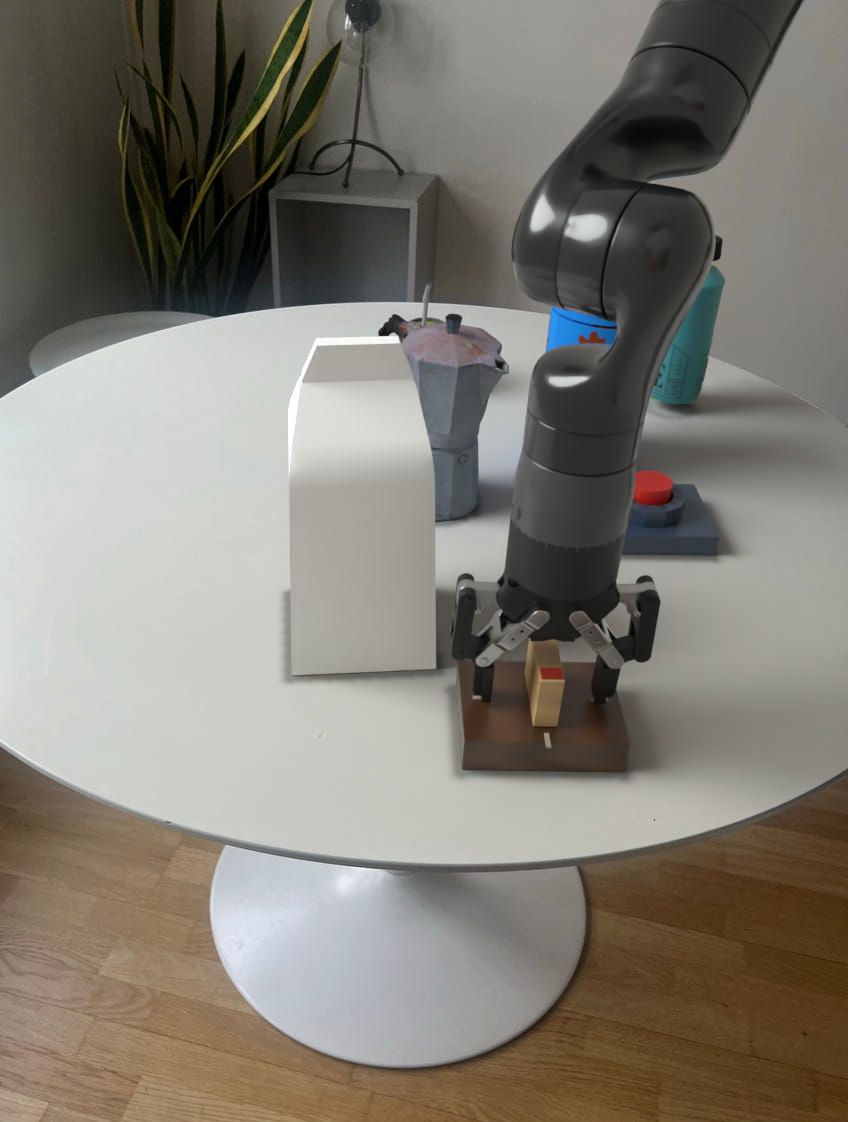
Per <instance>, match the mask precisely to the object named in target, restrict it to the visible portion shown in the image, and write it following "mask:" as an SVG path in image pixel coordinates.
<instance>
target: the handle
mask: <svg viewBox="0 0 848 1122" xmlns="http://www.w3.org/2000/svg"><path fill="white" fill-rule="evenodd" d="M527 645H528V646H527V652H526V659H525V661H526V666H525V679H526V685H527V691H528V698H529V704H530V710H531V717H532V723H533V726H541V727H557V725H558V719H559V714H560V708H561V702H562V697H563V691H564V685H565V678H564V674H563V669H562V664H561V662H562V660H561V659H562V658H561V655H560V649H559V645H558V640H554V639H552V640H547V641H530V638H528V644H527Z"/></svg>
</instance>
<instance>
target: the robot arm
mask: <svg viewBox="0 0 848 1122" xmlns="http://www.w3.org/2000/svg"><path fill="white" fill-rule="evenodd" d="M805 1H806V0H658V2H657V4H656V6H655V8H654V10H653V11H652V14H651V16H650V18H649V20H648V22H647V23H646V26H645V28H644V30H643V32H642V34H641V37H640V38H639V41H638V43H637V44H636V46H635V49H634V51H633V52H632V55H631V57H630V59H629V61H628V63H627V66H626V68H625V70H624V72H623V74H622V76H621V78H620V80H619V82H618V84H617V85H616V87H615V88H614V89H613V90H612V92H610V94H609V96H608V97H606V99H605V100H604V101H603V102H602V103H601V105H599V107H598V108H597V109H596V110H595V111H594V112H593V114H592V115H591V116H590V118H589V119H588V120H587V121H586V122H585V123H584V125H583V126H582V127H581V128H580V129H579V131H578V132H577V133H576V135H575V136H573V138H572V139H571V140H570V141H569V142H568V143H567V145H566V146H565V147H564V148H563V149H562V150H561V152H560V153H559V154H558V155H557V156H556V157H555V159H553V161H552V162H551V164H549V166H548V167H547V168H546V170H545V171H544V172H543V174H542V175H541V176H540V177H539V179H538V180H537V181H536V183H535V184H534V185H533V187H532V189H531V191H530V193H529V194H528V196H527V197H526V199H525V201H524V203H523V205H522V208H521V209H520V212H519V215H518V216H517V217H518V218H517V221H516V223H515V226H514V230H513V235H512V241H511V251H510V252H511V267H512V272H513V275H514V279H515V281H516V283H517V286H518V287H519V288H520V290H521V292H522V293H524V294H525V296H526V297H527V298H529V299H531V300H532V301H535V302H536V303H539V304H541V305H544V306H548V307H550V308H551V307H555V308H559V309H563V310H567V311H571V312H575V313H579V314H583V315H587V316H591V317H595V318H599V319H603V320H607V321H612V322H614V323H617V332H616V337H615V340H614V343H580V344H568V345H564V346H559V347H556V348H553V349H551V350H549V351H547V352H546V351H545V352H546V353H545V352H544V353H543V354H542V355H541V356H540V357H539V358H538V360H537V361H536V363H535V364H534V367H533V370H532V372H531V376H530V382H529V388H528V397H527V404H526V413H525V420H524V430H523V438H522V439H523V440H522V442H523V443H522V447H521V451H520V455H519V458H518V462H517V466H516V471H515V476H514V483H513V490H512V491H513V492H512V499H511V500H512V501H511V502H512V503H511V508H510V517H509V526H508V527H509V528H508V535H507V545H506V553H505V562H504V569H503V572H502V574H501V576H500V577H499V578H498V579H497V581H494V582H493V581H479V580H478V581H476V580H475V576H473V574H471V573H468V572H464V573H461V574H459V575H458V577H457V579H456V587H455V593H454V600H453V607H452V615H451V620H450V628H449V639H450V655H451V658H452V659H454V660H455V661H458V660H465V659H466V660H472V661H473V667H472V689H473V692H474V695H475V696H480V697H481V702H488V703H491V696H492V687H493V679H494V670H495V666H494V661H497V659H499V658H500V657H501V656H503V654H504V653H505V652H507V653H511V652H512V651H514V649H516V648H517V647H518V646H519V645H520V644H522V642H524V641H525V640H526V639H527V638H528V639H529V638H530V641H547V640H552V639H554V640H557V642H562V643H575V641H576V639H579V638H583V639H584V640H585V642H586V643H587V644H588V646H589V647H590V648H591V650H592V651H593V652H594V653H595V654H596V658H595V662H596V663H595V668H594V673H593V677H592V683H591V690H592V695H593V699H594V703H595V704H605V702H606V697H612V696H613V695H614V693H615V692H616V690H617V687H618V682H619V677H620V675H621V669H622V667H623V666H624V665H625V664H627V663H628V662H631V661H635V662H637V663H640V664H642V663H643V664H644V663H645V662H648V661H650V660H651V658H652V654H653V648H654V641H655V636H656V631H657V627H658V620H659V613H660V608H661V597H660V595H659V593H658V589H657V586H656V584H655V582H654V579H653V577H652V576H651V575H647V574H644V575H640V576H639V577H638V578H637V579H636V581H635V583H617V579H618V575H619V569H620V565H621V561H622V556H623V555H622V551H623V546H624V541H625V536H626V532H627V527H628V522H629V520H630V517H631V516H632V511H633V497H634V491H635V481H636V473H637V462H638V454H639V450H640V445H641V441H642V435H643V430H644V424H645V421H646V416H647V411H648V406H649V402H650V398H651V392H652V390H653V387H654V384H655V382H656V379H657V377H658V374H659V372H660V369H661V367H662V364H663V362H664V360H665V358H666V355H667V353H668V351H669V349H670V346H671V344H672V342H673V340H674V338H675V336H676V335H677V333H678V331H679V329H680V327H681V325H682V323H683V321H684V320H685V318H686V316H687V314H688V312H689V311H690V309H691V307H692V305H693V303H694V301H695V300H696V298H697V296H698V294H699V292H700V290H701V288H702V286H703V284H704V282H705V280H706V277H707V275H708V273H709V271H710V268H711V265H713V262H714V261H713V257H714V252H715V244H716V239H715V235H716V228H715V223H714V219H713V215H712V214H711V212H710V209H709V207H708V205H707V204H706V202H705V201H704V200H703V198H702V197H701V196H699V195H697V194H696V193H695V192H693V191H690V190H687V189H685V188H680V187H676V186H671V185H664V184H660V183H659V184H658V183H651V182H652V181H658V180H663V179H671V178H681V177H687V176H693V175H699V174H702V173H705V172H708V171H709V170H711V169H713V168H715V167H717V165H719V164H720V163H721V162H722V161H723V160H724V159H725V158H726V156H727V155H728V154H729V153H730V151H731V149H732V148H733V146H734V144H735V143H736V141H737V139H738V137H739V135H740V133H741V131H742V129H743V127H744V126H745V125H744V124H745V122H747V121H746V120H747V118H748V117H749V114H750V113H751V111H752V108H753V106H754V104H755V102H756V100H757V98H758V95H759V93H760V91H761V90H762V87H763V85H764V83H765V82H766V79H767V77H768V75H769V73H770V71H771V69H772V67H773V65H774V63H775V61H776V58H777V56H778V54H779V52H780V50H781V48H782V47H783V44H784V42H785V40H786V38H787V36H788V34H789V32H790V30H791V28H792V26H793V24H794V22H795V20H796V18H797V16H798V14H799V13H800V10H801V9H802V7H803V5H804V3H805ZM491 602H496V603H497V606H498V607H499V609H497V610H496V611H495V612H494V613H493V615H492V617H491V620H490V622H489V623H488V624H487V625H485V626H484V627H483V628H482V629H481V630H480V631H479V632H478V633H477V634H473V627H474V619H475V616H479V615H481V614H482V612H483V611H484V610H485V609H486V607H487V605H488V604H489V603H491ZM619 603H620V604H623V605H624V606H625V609H626V612H627V613H628V615H630V618H629V623H628V624H629V625H628V631H627V635H623V636H619V637H618V636H617V635H616V633H614V631H613V629H611V627H610V626H609V624H608V622H607V621H606V619H605V618H606V617H607V616H608V615H609V614H610V613H611V612H613V611H614V610H615V609H616V608H617V607H618V606H619Z"/></svg>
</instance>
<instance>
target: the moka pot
mask: <svg viewBox="0 0 848 1122" xmlns="http://www.w3.org/2000/svg"><path fill="white" fill-rule="evenodd" d="M462 323H463V316H462V315H460V314H458V313H448V314H447V315H445V323H440V324H434V325H428V326H421V324H420V323H417V322H414V321H410V320H406V319H404V318H403V317H401V315H399V314H396V313H393V314H391V317H389V318H388V321H385V322H384V323H383V325H382V327H380V328H379V330H378V331H377V334H378V336H391V335H392V334H396V336H398V337H399V338H400V339H401V340H402V341H403V342H402V343H401V344H402V347H403V349H404V351H405V354H406V356H407V359H408V361H409V364H410V366H411V369H412V372H413V375H414V380H415V383H416V387H417V391H418V396H419V400H420V404H421V408H422V413H423V417H424V421H425V425H426V430H427V434H428V438H429V443H430V447H431V452H432V458H433V464H434V473H435V521H437V522H440V521H441V522H443V521H444V522H445V521H451V520H456V519H460V518H462V517H464V516H466V515H468V514H470V513H471V512H472V511H474V509H475V508H476V506H477V504H478V501H479V498H480V497H479V495H480V481H479V480H480V479H479V477H480V476H479V474H480V472H479V438H478V437H479V433H480V428H481V423H482V421H483V419H484V417H485V416H484V415H485V414H486V411H487V407H488V403H489V399H490V395H491V394H492V392H493V390H494V389H495V387H496V386H497V384H498V383H499V381H500V379H501V378H502V377H503V375H507V374H510V365H509V363H507V362H506V361H505V358H503V356H501V353H502V350H503V345H502V342H501V341H500V340H498V339H497V338H495V337H494V336H493V335H491V333H489V332H488V331H486V329H483V328H482V327H476V326H471V325H465V324H462Z"/></svg>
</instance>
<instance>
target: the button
mask: <svg viewBox="0 0 848 1122" xmlns="http://www.w3.org/2000/svg"><path fill="white" fill-rule="evenodd" d="M673 483H674V481H673V479H672V478H671V477H670V476H668V475H667V474H664V473H662V472H659V471H654V470H641V471H636V481H635V491H634V497H633V500H634V501H635V502H638V503H642V504H645V505H663V504H666V503H668V502H669V500H670V495H671V491H672V487H673Z"/></svg>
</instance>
